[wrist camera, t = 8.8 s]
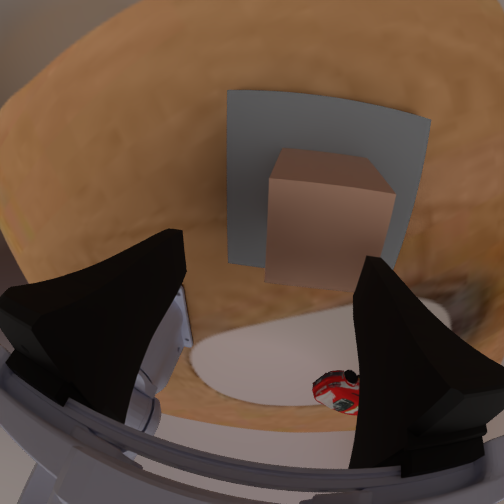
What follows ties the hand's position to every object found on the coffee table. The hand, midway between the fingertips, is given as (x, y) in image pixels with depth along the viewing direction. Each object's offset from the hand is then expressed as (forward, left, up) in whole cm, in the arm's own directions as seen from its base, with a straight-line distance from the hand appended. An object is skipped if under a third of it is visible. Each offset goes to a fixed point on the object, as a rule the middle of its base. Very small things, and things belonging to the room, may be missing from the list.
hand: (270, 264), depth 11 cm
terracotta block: (+1, -2, -7) cm, 8 cm away
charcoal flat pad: (0, -2, -10) cm, 11 cm away
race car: (-25, -12, -10) cm, 29 cm away
